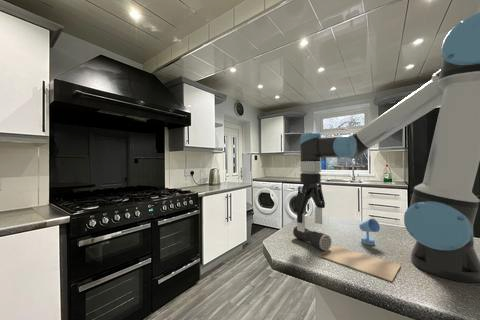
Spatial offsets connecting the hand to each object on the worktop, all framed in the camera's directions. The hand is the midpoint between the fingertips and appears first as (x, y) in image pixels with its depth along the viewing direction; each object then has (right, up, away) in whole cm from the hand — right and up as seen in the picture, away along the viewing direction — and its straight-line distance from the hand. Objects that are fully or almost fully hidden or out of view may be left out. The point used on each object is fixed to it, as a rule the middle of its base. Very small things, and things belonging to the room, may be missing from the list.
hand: (310, 227), depth 79 cm
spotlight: (+23, -7, 0) cm, 24 cm away
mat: (+10, -6, -14) cm, 19 cm away
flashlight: (0, -7, 0) cm, 7 cm away
